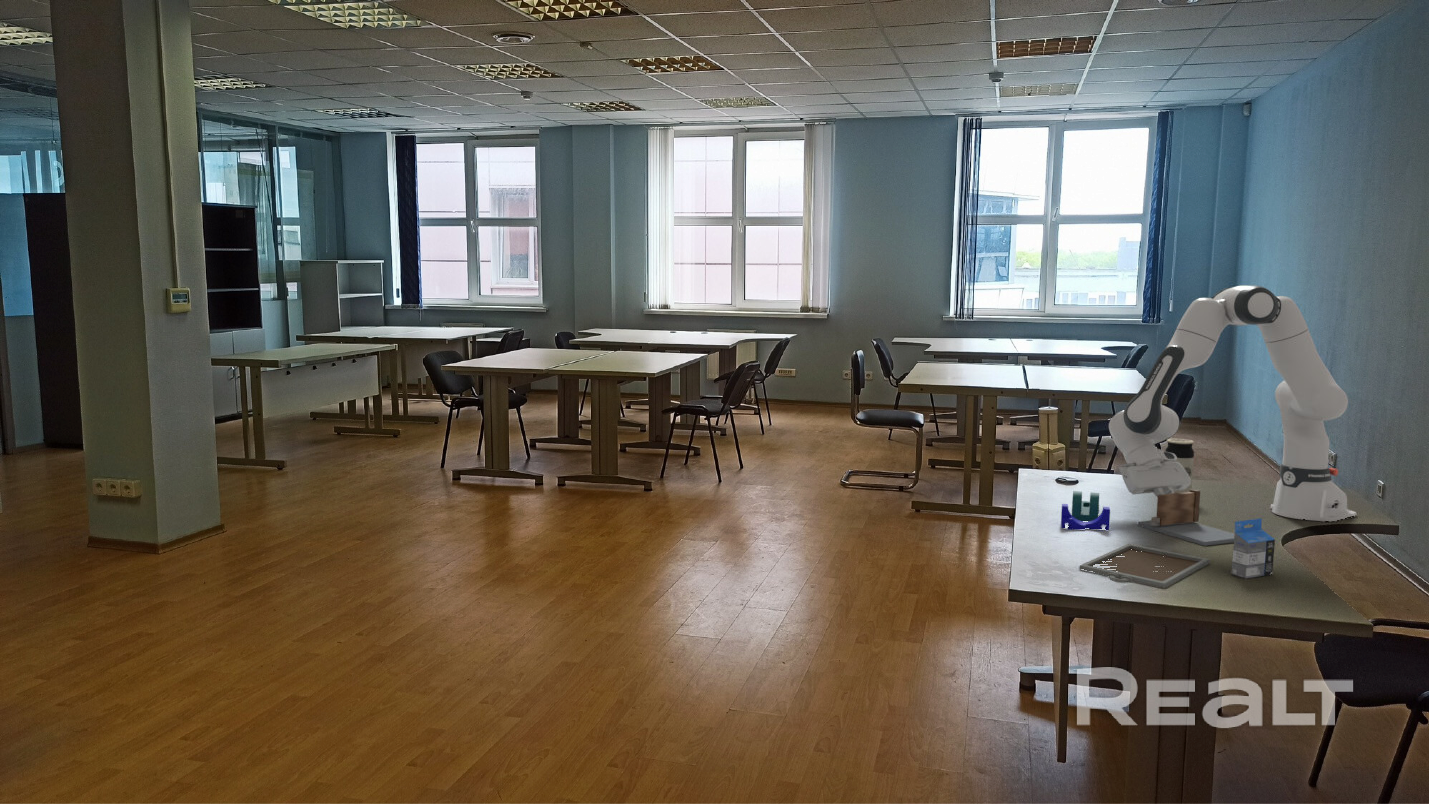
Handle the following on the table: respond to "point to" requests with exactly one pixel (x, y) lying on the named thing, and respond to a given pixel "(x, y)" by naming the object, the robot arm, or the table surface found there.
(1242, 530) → the ink cartridge box
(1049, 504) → the table surface
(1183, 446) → the travel mug
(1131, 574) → the picture frame
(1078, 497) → the bracket
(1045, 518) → the table surface
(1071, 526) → the cable clip
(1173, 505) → the gate leaf
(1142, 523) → the grey plate
